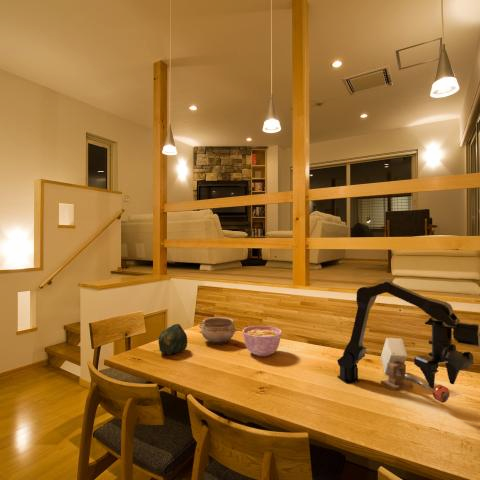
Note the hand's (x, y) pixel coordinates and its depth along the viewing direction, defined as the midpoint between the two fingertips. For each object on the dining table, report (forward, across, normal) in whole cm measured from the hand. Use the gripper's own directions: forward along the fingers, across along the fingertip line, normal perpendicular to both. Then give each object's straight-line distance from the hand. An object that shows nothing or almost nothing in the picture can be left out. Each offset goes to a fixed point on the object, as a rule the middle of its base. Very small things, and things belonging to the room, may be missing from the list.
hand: (442, 385), depth 102 cm
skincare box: (+5, +7, +30) cm, 32 cm away
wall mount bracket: (+8, 0, +19) cm, 21 cm away
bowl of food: (+8, -38, +67) cm, 78 cm away
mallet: (+5, 0, +7) cm, 9 cm away
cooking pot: (+8, -55, +91) cm, 107 cm away
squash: (+8, -81, +83) cm, 116 cm away
